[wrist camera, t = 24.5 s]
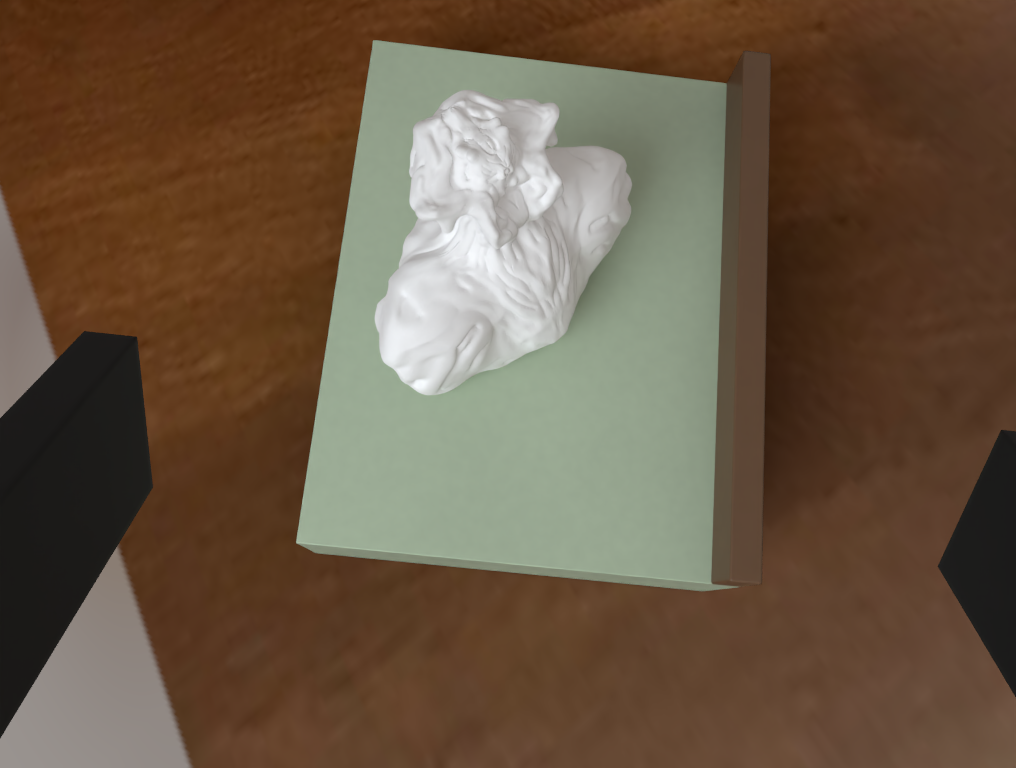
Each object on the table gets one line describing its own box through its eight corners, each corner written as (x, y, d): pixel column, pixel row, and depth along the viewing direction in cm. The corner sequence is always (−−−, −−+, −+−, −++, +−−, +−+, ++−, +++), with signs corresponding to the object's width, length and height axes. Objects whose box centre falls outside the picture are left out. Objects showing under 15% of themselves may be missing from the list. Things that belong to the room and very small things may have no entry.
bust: (586, 219, 40) (490, -18, 32) (712, 272, 35) (632, 4, 27) (384, 394, 37) (228, 181, 30) (487, 481, 32) (330, 248, 24)
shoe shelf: (314, 552, 38) (284, 537, 31) (381, 103, 44) (368, 2, 37) (704, 591, 39) (762, 584, 32) (719, 143, 45) (771, 53, 38)
